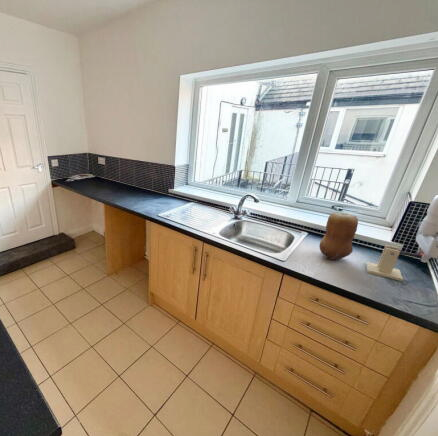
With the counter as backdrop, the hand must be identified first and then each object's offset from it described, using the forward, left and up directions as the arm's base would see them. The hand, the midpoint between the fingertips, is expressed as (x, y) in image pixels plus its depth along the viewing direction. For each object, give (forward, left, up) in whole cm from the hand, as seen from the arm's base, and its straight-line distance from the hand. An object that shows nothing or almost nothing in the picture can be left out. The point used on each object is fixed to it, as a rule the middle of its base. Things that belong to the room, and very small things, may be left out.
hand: (421, 258), depth 106 cm
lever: (+5, 0, -1) cm, 5 cm away
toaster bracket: (+10, 0, -11) cm, 15 cm away
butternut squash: (+30, -1, -11) cm, 32 cm away
